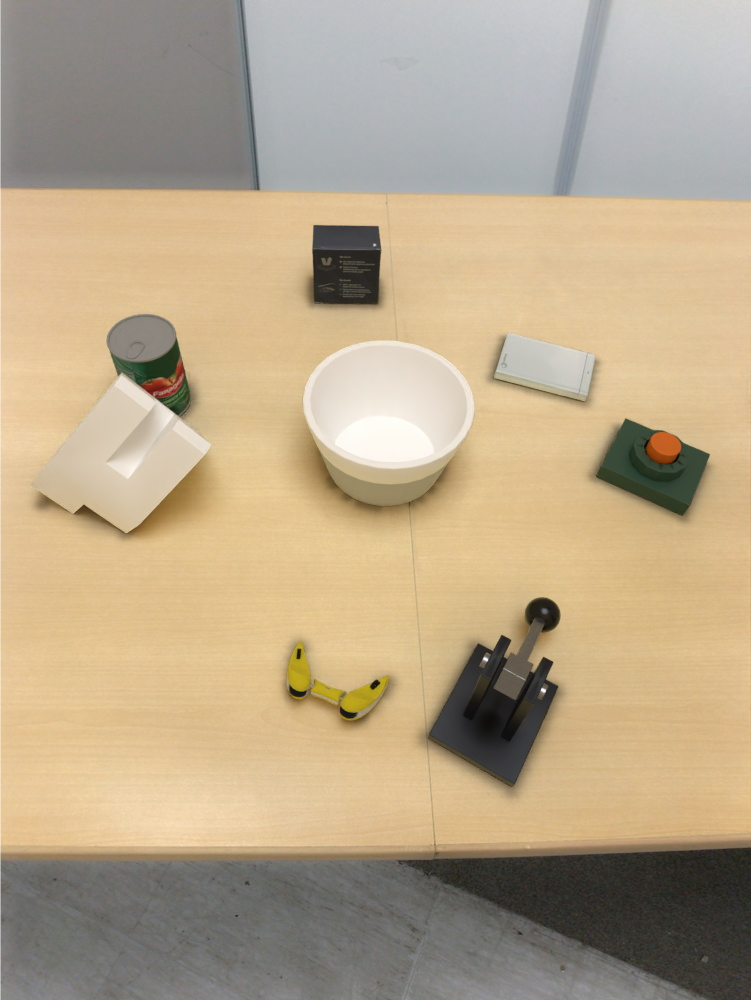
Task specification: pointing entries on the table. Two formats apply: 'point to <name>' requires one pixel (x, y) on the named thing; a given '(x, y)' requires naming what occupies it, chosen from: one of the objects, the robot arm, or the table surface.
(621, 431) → the button box
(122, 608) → the table surface
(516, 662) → the lever
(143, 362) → the canned tomato
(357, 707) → the yellow bent piece
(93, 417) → the slotted wedge
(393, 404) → the bowl
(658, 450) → the button
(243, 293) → the table surface
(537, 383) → the hard drive
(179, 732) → the table surface
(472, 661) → the bracket
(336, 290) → the box
